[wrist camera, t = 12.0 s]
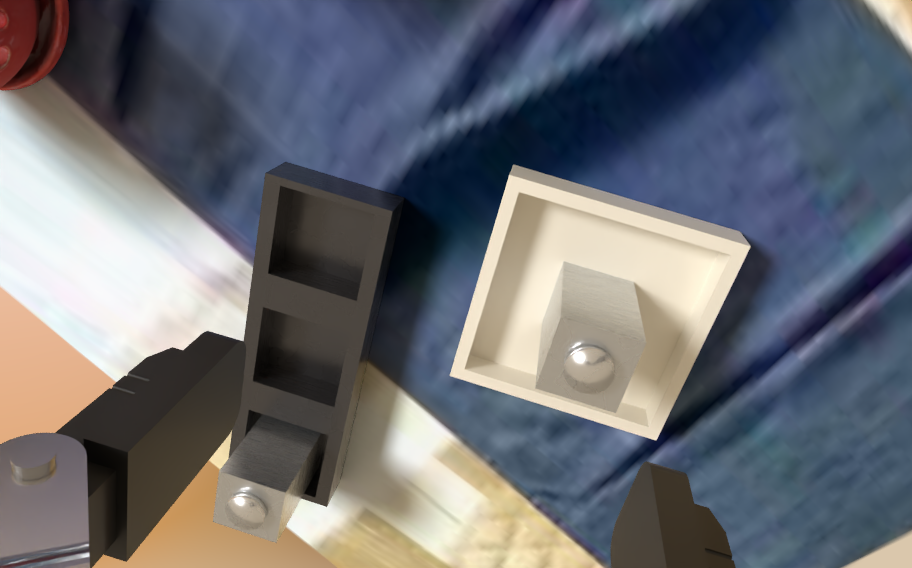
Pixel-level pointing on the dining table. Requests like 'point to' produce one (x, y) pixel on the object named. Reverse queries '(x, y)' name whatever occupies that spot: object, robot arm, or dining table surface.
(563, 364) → the silver knobbed block
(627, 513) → the robot arm
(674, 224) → the parts tray
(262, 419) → the square metal peg
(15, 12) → the plant pot
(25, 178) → the dining table surface
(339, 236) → the dark grey compartment tray
